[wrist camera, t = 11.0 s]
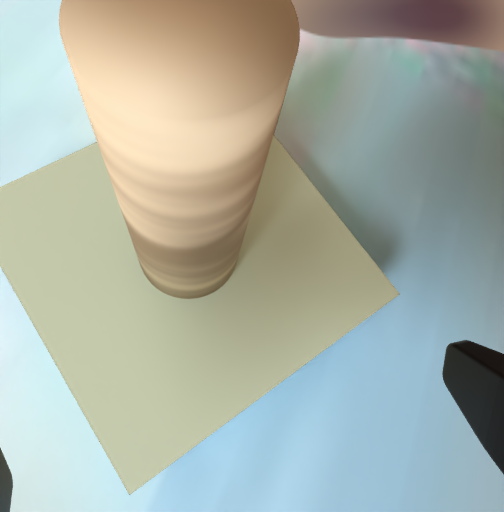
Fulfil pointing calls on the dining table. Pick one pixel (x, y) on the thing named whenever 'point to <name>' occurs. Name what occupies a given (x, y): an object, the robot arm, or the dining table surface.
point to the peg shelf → (178, 306)
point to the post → (183, 121)
